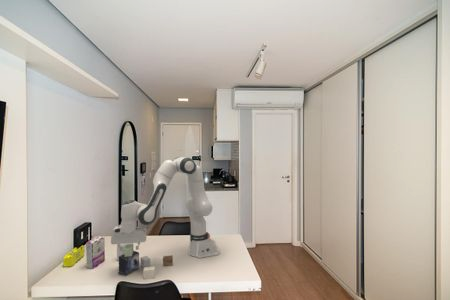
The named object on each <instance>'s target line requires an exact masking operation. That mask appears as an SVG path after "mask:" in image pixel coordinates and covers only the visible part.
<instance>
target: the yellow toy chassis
mask: <svg viewBox="0 0 450 300" xmlns="http://www.w3.org/2000/svg"><path fill="white" fill-rule="evenodd" d="M84 256H85V245H81V246H80V247H74V248H73V249H72V250H70V251H68V253H67V254H65V255H64V257H63V258H62V259H63V262H62V263H63V267H65V268H66V267H67V268H69V267H72V266H74V265H75V264H76V263H78V262H79V261H81V259H82V257H84Z"/></svg>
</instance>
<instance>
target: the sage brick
mask: <svg viewBox="0 0 450 300" xmlns="http://www.w3.org/2000/svg"><path fill="white" fill-rule="evenodd" d="M124 250H125V257H129V256H132V254H133V251H134V243H133V244H127V245H126V247H125V249H124Z"/></svg>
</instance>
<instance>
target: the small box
mask: <svg viewBox="0 0 450 300" xmlns="http://www.w3.org/2000/svg"><path fill="white" fill-rule="evenodd" d="M139 269H140V252H139V251H136V250H133V254H132V256H129V257H125V254H123V255H121V256H119V261H118V271H117V272H118V275H121V276H122V277H123V276H124V277H127V276H128V275H130V274H132V273H134V272H135V271H137V270H139Z"/></svg>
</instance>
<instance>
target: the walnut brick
mask: <svg viewBox="0 0 450 300" xmlns="http://www.w3.org/2000/svg"><path fill="white" fill-rule="evenodd" d="M173 257H174V255H163V256H162V267H172V266H173V263H174V261H173Z"/></svg>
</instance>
